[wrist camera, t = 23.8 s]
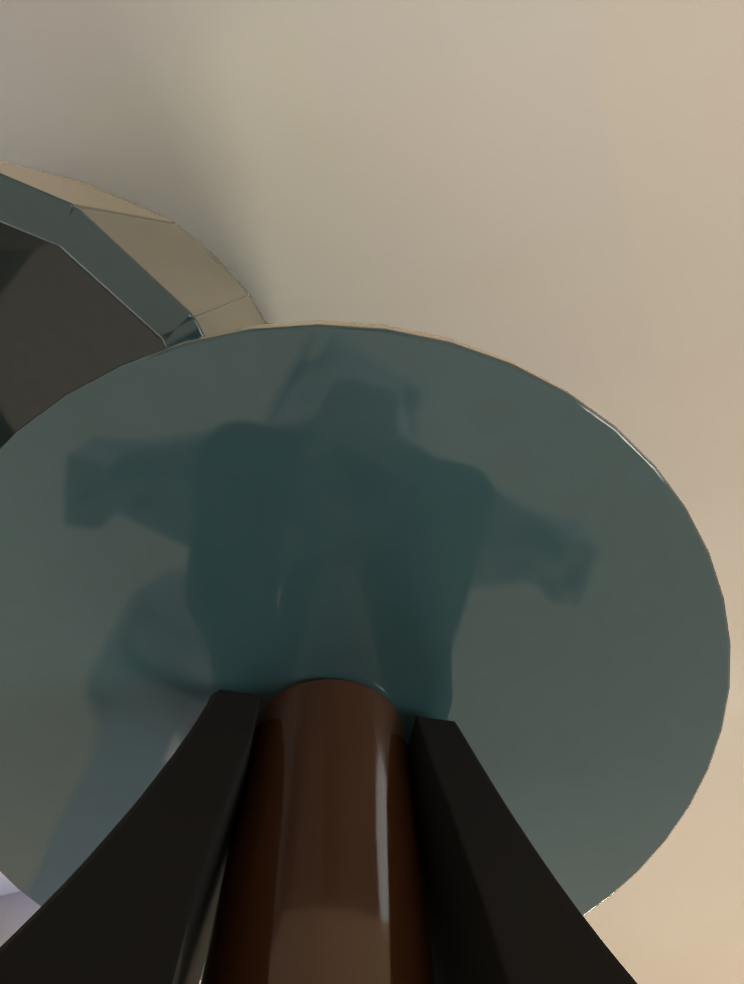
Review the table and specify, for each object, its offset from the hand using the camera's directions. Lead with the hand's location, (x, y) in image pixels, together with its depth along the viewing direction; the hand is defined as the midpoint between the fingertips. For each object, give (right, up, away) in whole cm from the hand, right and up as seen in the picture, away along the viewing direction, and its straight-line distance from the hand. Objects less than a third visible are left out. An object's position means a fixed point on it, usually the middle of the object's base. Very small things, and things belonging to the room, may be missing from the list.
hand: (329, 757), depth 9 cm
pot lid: (0, 0, +1) cm, 1 cm away
